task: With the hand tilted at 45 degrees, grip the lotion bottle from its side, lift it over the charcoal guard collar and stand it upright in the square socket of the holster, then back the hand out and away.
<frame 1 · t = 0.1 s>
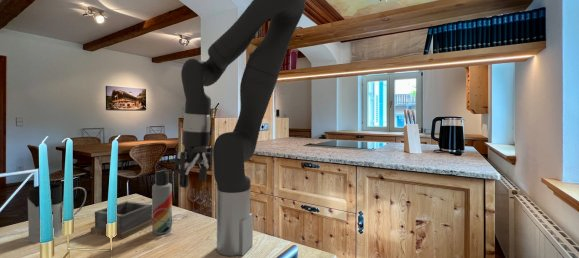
hand: (193, 183, 79), 17 cm above the table, tool pointing down, fingers open, 8 cm apart
lotion bottle: (162, 231, 86), on the table
guard holster: (124, 227, 88), on the table
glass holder: (58, 233, 83), on the table
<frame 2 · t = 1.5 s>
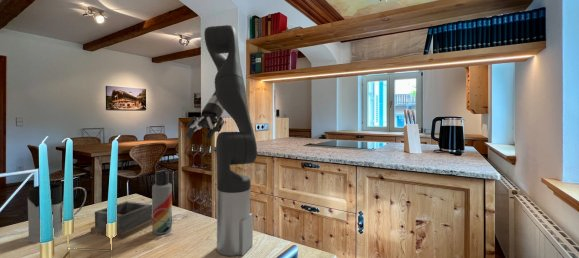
hand: (197, 137, 102), 29 cm above the table, tool tilted 45°, fingers open, 8 cm apart
nothing on the table moved.
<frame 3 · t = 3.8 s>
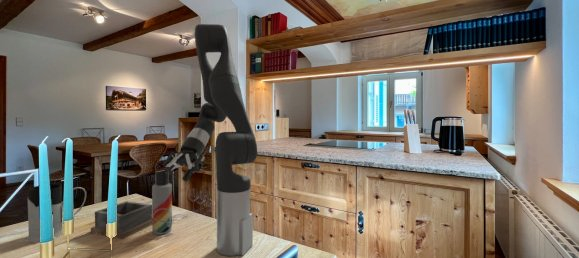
hand: (174, 179, 90), 16 cm above the table, tool tilted 45°, fingers open, 8 cm apart
nothing on the table moved.
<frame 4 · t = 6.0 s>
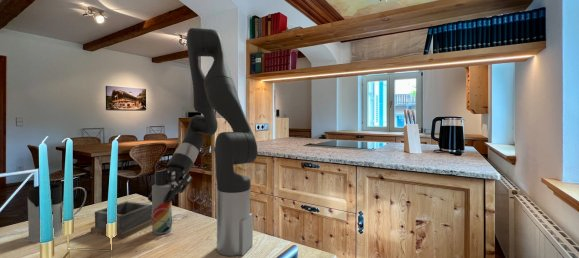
hand: (158, 201, 84), 10 cm above the table, tool tilted 45°, fingers closed on lotion bottle, 5 cm apart
lotion bottle: (162, 231, 86), on the table, touching gripper
everything else where it was.
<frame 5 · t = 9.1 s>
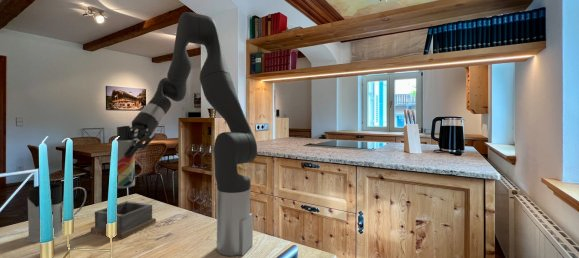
hand: (119, 156, 85), 24 cm above the table, tool tilted 45°, fingers closed on lotion bottle, 5 cm apart
lotion bottle: (125, 186, 88), point 14 cm above the table, touching gripper
everything else where it was.
when the fingers open (13 cm above the table, at t = 12.1 s): lotion bottle drops 1 cm, resting on guard holster.
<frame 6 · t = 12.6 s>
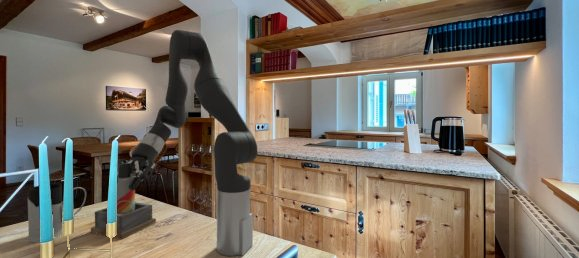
hand: (120, 187, 86), 14 cm above the table, tool tilted 45°, fingers open, 8 cm apart
lotion bottle: (125, 223, 88), point 1 cm above the table, touching guard holster
everything else where it was.
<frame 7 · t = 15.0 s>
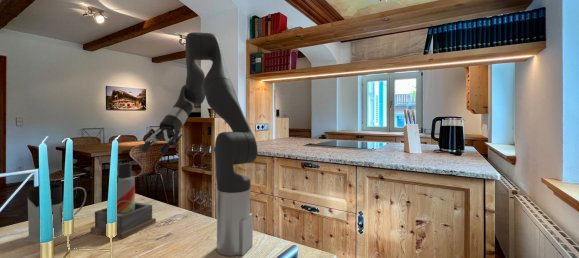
hand: (152, 152, 98), 24 cm above the table, tool tilted 45°, fingers open, 8 cm apart
nothing on the table moved.
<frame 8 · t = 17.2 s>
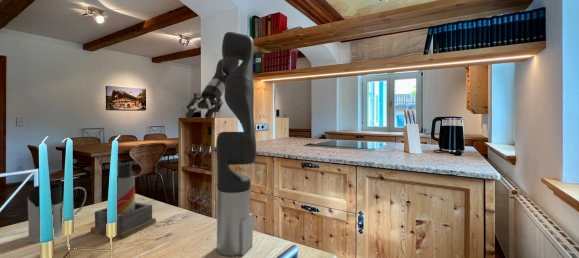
hand: (197, 117, 106), 37 cm above the table, tool tilted 45°, fingers open, 8 cm apart
nothing on the table moved.
at the end: lotion bottle 0.2 cm off-centre on the guard holster, point 1.3 cm above the guard holster's base; lotion bottle tilted 0°; the gripper is holding nothing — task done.
